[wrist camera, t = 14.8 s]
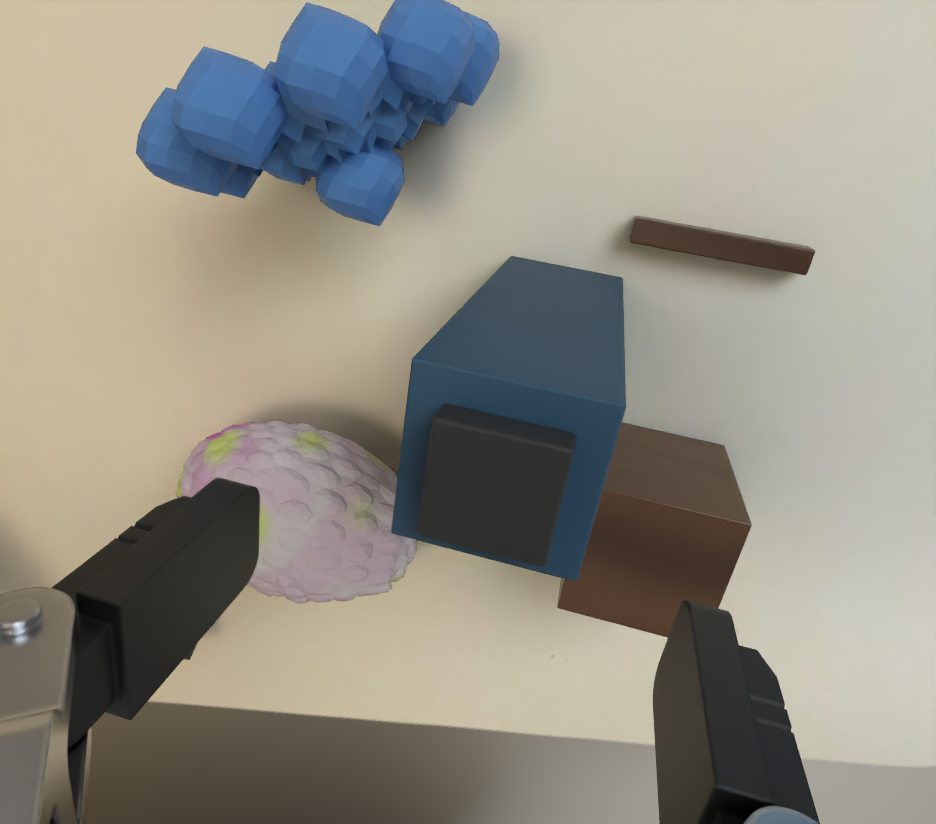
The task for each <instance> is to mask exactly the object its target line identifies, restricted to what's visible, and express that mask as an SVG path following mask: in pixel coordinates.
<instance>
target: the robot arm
mask: <svg viewBox="0 0 936 824" xmlns="http://www.w3.org/2000/svg"><path fill="white" fill-rule="evenodd" d="M259 519H260V494H259V491H258V489H257V488H256V487H254V486H250V485H246V484H242V483H239V482H235V481H231V480H227V479H223V478H216V479H214V480H212V481H211V482H210V483H208V484H207V485H206V486H205V487H204V488H202V489H201V490H200V491H199V492H197V493H196V494H195V495H194V496H192V497H187V496H182V497H179V498H177V499H174V500H172V501H169V502H167V503H165V504H162V505H160V506H157V507H155V508H154V509H153V510H152V511H150V512H149V513H148V514H146V515H145V516H144V517H143V518H141V519H140V520H139V521H137V522H136V524H135V526H134V527H133V526H131V527H130V528H128V529H127V530H126V531H124V532H123V533H122V534H121V535H119V537H118V539H117V540H113V541H112V542H110V543H109V544H108V545H106V546H105V547H104V548H103V549H101V550H100V551H99V552H97V553H96V554H95V555H94V556H92V557H91V558H90V559H88V560H87V561H86V562H84V563H83V564H82V565H81V566H79V567H78V568H77V569H75V570H74V571H73V572H72V573H70V574H69V575H68V576H66V577H65V578H64V579H63V580H61V581H60V582H59V583H57V584H56V585H55V586H53V587H52V588H45V587H34V588H24V589H19V590H14V591H11V592H7V593H4V594H2V595H0V824H86V815H87V801H88V786H89V773H90V759H91V745H92V732H91V727H92V725H94V723H95V722H96V721H97V720H98V719H99V718H100V717H101V716H102V715H103V714H104V712H107V713H110V714H113V715H116V716H119V717H122V718H125V719H128V720H132V718H133V717H134V716H135V715H136V714H137V713H138V711H139V710H140V709H141V708H142V707H143V706H144V704H145V703H146V702H147V701H148V700H149V699H150V697H151V696H152V695H153V694H154V693H155V692H156V690H157V689H158V688H159V687H160V686H161V685H162V683H163V682H164V681H165V680H166V679H167V678H168V676H169V675H170V674H171V673H172V672H173V671H174V669H175V668H176V667H177V666H178V665H179V664H180V662H181V661H182V660H183V659H184V658H185V656H186V655H187V654H188V653H189V652H190V651H191V649H192V648H193V647H194V646H195V645H196V644H197V642H198V641H199V640H200V639H201V638H202V637H203V635H204V634H205V633H206V632H207V631H208V630H209V628H210V627H211V626H212V625H213V624H214V623H215V621H216V620H217V619H218V618H219V617H220V616H221V614H222V613H223V612H224V611H225V610H226V609H227V607H228V606H229V605H230V604H231V603H232V601H233V600H234V599H235V598H236V597H237V596H238V594H239V593H240V592H241V591H242V590H243V589H244V587H245V586H246V585H247V584H248V582H249V581H250V579H251V577H252V575H253V573H254V570H255V568H256V565H257V561H258V556H259ZM784 705H785V703H784V700H783V696H782V693H781V690H780V686H779V683H778V679H777V677H776V675H775V674H774V673H773V671H772V670H771V668H770V667H769V666H768V664H767V663H766V662H765V660H764V659H763V658H762V656H761V655H760V653H759V652H758V651H757V650H754V649H751V648H747V647H743V646H739V645H738V641H737V637H736V632H735V628H734V624H733V620H732V616H731V614H730V613H729V612H728V611H725V610H721V609H717V608H713V607H709V606H705V605H702V604H698V603H694V602H690V601H686V600H685V601H683V602H682V604H681V605H680V607H679V610H678V613H677V615H676V618H675V621H674V623H673V626H672V629H671V632H670V634H669V637H668V640H667V642H666V645H665V648H664V651H663V653H662V656H661V659H660V661H659V664H658V668H657V671H656V676H655V681H654V689H653V714H654V732H655V749H656V765H657V766H656V767H657V784H658V802H659V820H660V824H820V822H819V819H818V816H817V812H816V809H815V806H814V802H813V799H812V796H811V792H810V789H809V785H808V782H807V778H806V775H805V771H804V768H803V765H802V761H801V758H800V754H799V751H798V748H797V744H796V741H795V737H794V734H793V733H791V724H790V720H789V717H788V713H787V710H785V709H784Z"/></svg>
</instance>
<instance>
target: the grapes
mask: <svg viewBox="0 0 936 824" xmlns="http://www.w3.org/2000/svg"><path fill="white" fill-rule="evenodd" d="M498 60H499V40H498V37H497V34H496V32H495V31H494V30H493V29H492V27H491V26H490V25H489V24H488V23H487V21H484V20H482V19H480V18H478V17H476V16H473V15H471V14H469V13H467V12H464V11H462V10H461V9H460V8H459V7H456V6H454V5H452V4H450V3H448V2H446V1H443V0H395V1H394V3H393V4H392V6H391V8H390V9H389V11H388V12H387V14H386V16H385V17H384V19H383V20H382V22H381V25H380V28H379V31H378V34H376V33H375V32H373V31H372V30H371V29H370V28H369V27H368V26H367V25H365V24H363V23H361V22H359V21H357V20H355V19H353V18H351V17H348V16H346V15H343V14H341V13H338V12H336V11H334V10H331V9H328V8H325V7H321V6H318V5H314V4H311V3H306V4H305V6H304V7H303V9H302V10H301V11H300V13H299V14H298V16H297V17H296V19H295V20H294V22H293V23H292V25H291V27H290V28H289V30H288V32H287V33H286V35H285V36H284V38H283V40H282V41H281V45H280V49H279V53H278V57H277V61H276V63H274V62H271V61H270V63H269V64H268V66H267V67H266V69H265V70H264V69H262V68H261V67H259V66H258V65H256V64H254V63H253V62H251V61H248V60H245V59H242V58H239V57H237V56H234V55H231V54H228V53H225V52H222V51H218V50H214V49H211V48H207V47H203V48H202V50H201V51H200V52H199V54H198V55H197V56H196V58H195V59H194V60H193V62H192V63H191V64H190V66H189V68H188V69H187V71H186V73H185V74H184V76H183V78H182V79H181V81H180V83H179V84H178V86H177V89H176V90H174V89H170V88H167V87H166V88H165V90H164V91H163V92H162V94H161V95H160V96H159V98H158V99H157V100H156V102H155V103H154V105H153V106H152V108H151V110H150V111H149V113H148V115H147V116H146V118H145V120H144V121H143V123H142V126H141V128H140V131H139V134H138V141H137V149H136V154H137V155H138V157H139V158H140V159H141V161H142V162H143V164H144V165H145V166H146V168H147V169H148V170H149V171H150V172H151V173H153V174H154V175H155V176H157V177H159V178H161V179H163V180H165V181H167V182H170V183H172V184H174V185H177V186H180V187H183V188H187V189H190V190H194V191H198V192H202V193H206V194H209V195H213V196H217V197H218V195H219V194H220V192H222V193H225V194H229V195H233V196H237V197H241V198H245V197H246V195H247V193H248V192H249V190H250V189H251V187H252V186H253V184H254V183H255V181H256V179H257V178H258V176H260V175H261V173H262V171H263V170H264V171H265V172H267V173H269V174H271V175H273V176H275V177H276V178H279V179H282V180H286V181H289V182H293V183H299V184H302V185H304V184H305V183H306V181H309V180H310V179H311V177H316V178H317V181H316V191H317V193H318V196H319V198H320V201H321V202H322V203H324V204H325V205H326V206H328V207H329V208H330V209H332V210H334V211H335V212H337V213H339V214H341V215H343V216H345V217H348V218H352V219H355V220H359V221H362V222H366V223H370V224H374V225H378V226H380V225H381V223H382V222H383V220H384V219H385V217H386V216H387V214H388V213H389V211H390V210H391V208H392V206H393V204H394V202H395V200H396V198H397V197H398V194H399V192H400V190H401V188H402V185H403V183H404V169H403V163H402V158H401V157H400V156H398V155H397V154H396V153H394V152H393V151H392V149H393V148H396V149H400V150H401V149H402V148H403V146H404V145H405V143H406V142H407V140H408V139H409V140H411V141H413V139H414V137H415V135H416V133H417V132H418V130H419V128H420V126H421V123H422V121H423V120H424V121H427V122H430V123H433V124H437V125H440V126H445V125H446V123H447V122H448V120H449V119H450V117H451V116H452V114H453V113H454V111H455V109H456V107H457V105H458V103H459V102H461V103H464V104H468V105H471V106H473V105H474V104H475V102H476V100H477V99H478V97H479V96H480V94H481V93H482V91H483V90H484V88H485V86H486V84H487V82H488V80H489V78H490V76H491V74H492V72H493V70H494V68H495V66H496V64H497V62H498Z"/></svg>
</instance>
